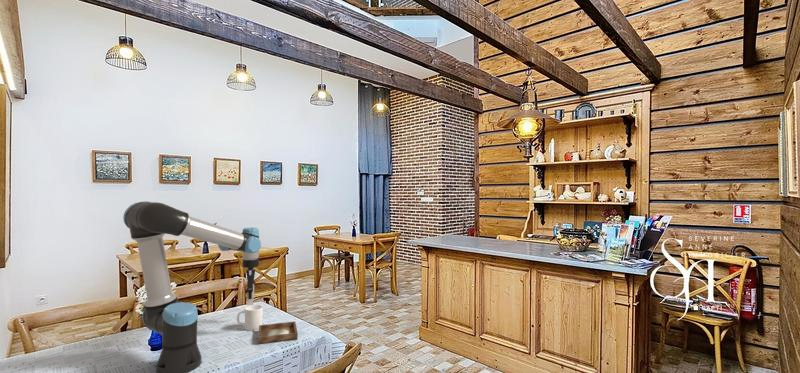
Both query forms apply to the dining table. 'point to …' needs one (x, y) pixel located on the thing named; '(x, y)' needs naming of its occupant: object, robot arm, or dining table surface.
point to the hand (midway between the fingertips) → (250, 301)
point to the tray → (277, 332)
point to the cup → (252, 317)
